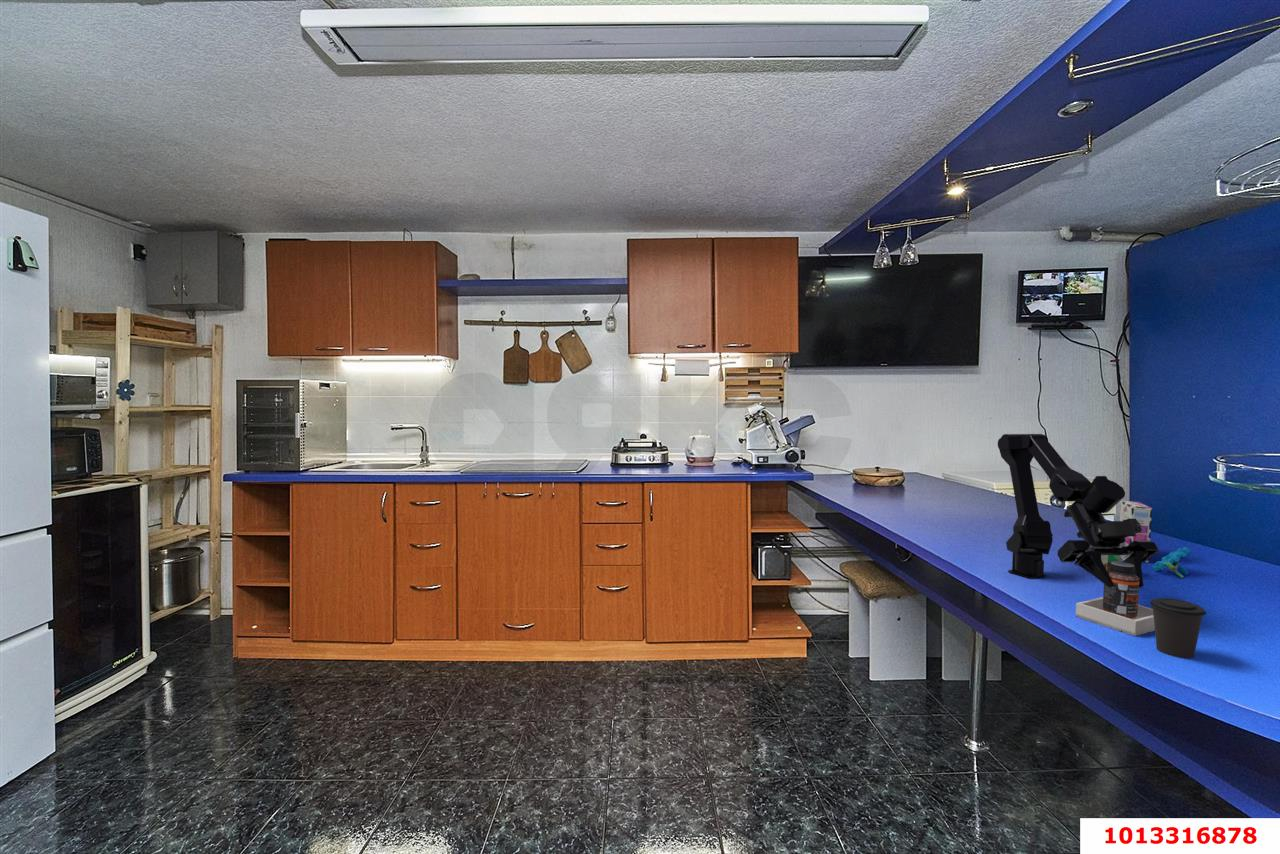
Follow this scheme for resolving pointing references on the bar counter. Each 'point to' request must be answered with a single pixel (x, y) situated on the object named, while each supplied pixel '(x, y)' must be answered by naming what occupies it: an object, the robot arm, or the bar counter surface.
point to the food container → (1110, 559)
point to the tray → (1116, 617)
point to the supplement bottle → (1122, 590)
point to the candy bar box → (1141, 515)
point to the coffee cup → (1176, 626)
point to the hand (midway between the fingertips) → (1126, 586)
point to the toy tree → (1172, 562)
